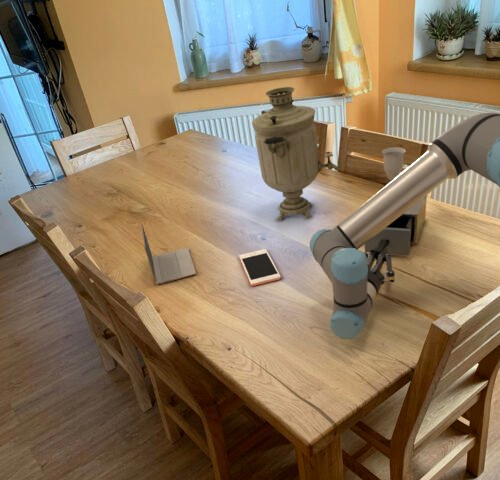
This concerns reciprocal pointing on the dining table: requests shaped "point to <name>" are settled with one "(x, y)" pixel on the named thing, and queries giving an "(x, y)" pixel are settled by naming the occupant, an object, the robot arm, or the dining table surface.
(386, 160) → the chalice
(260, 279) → the cell phone
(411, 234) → the drawer
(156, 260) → the laptop
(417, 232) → the cabinet
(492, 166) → the robot arm
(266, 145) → the samovar
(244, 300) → the dining table surface
